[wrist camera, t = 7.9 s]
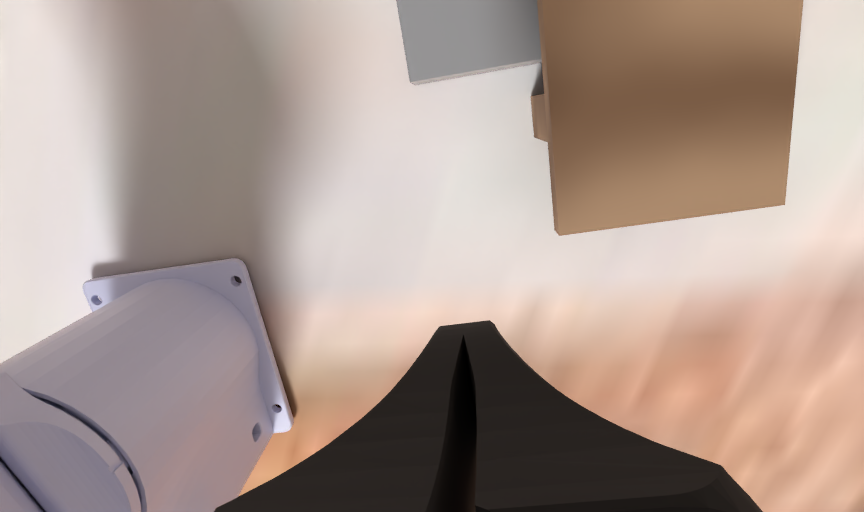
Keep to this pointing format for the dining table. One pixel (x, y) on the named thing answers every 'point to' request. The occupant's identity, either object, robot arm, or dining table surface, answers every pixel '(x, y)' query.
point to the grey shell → (467, 37)
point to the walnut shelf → (665, 107)
